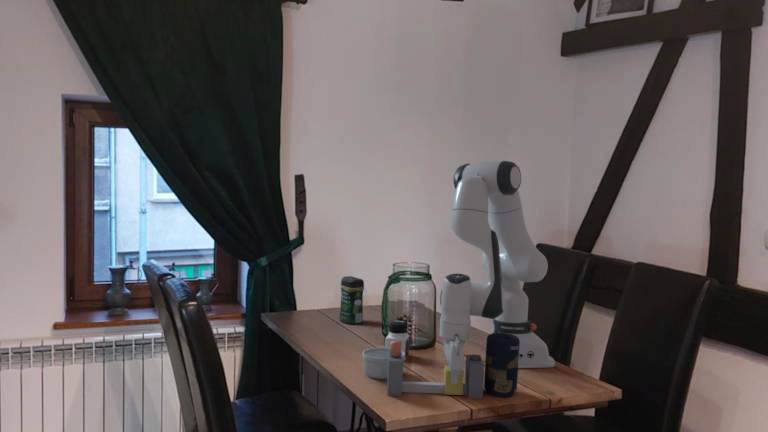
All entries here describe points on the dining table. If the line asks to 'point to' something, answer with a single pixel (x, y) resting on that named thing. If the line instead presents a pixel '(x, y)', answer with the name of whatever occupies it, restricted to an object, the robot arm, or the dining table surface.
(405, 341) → the medicine bottle
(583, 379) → the dining table surface
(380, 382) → the dining table surface
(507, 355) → the canister
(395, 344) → the gauge button
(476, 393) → the rail assembly
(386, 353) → the ramekin
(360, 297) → the coffee jar
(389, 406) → the dining table surface
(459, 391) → the block
